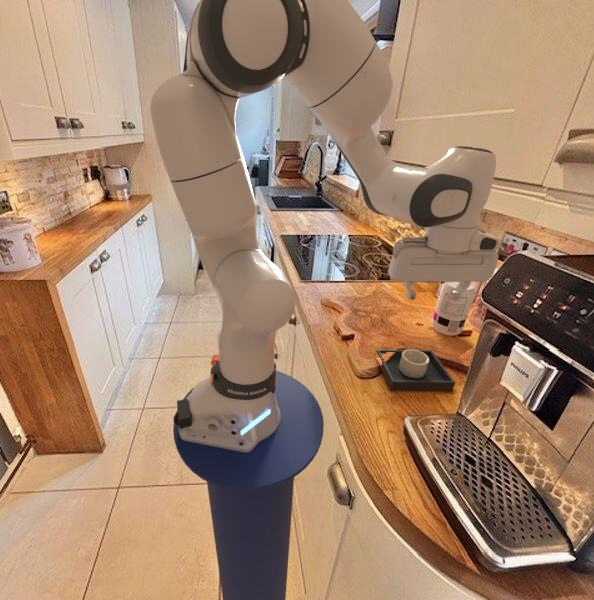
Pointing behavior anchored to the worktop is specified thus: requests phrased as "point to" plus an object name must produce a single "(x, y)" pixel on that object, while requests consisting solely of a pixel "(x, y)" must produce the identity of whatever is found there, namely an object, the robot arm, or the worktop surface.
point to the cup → (413, 363)
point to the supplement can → (452, 310)
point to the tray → (430, 381)
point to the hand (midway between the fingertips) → (431, 298)
